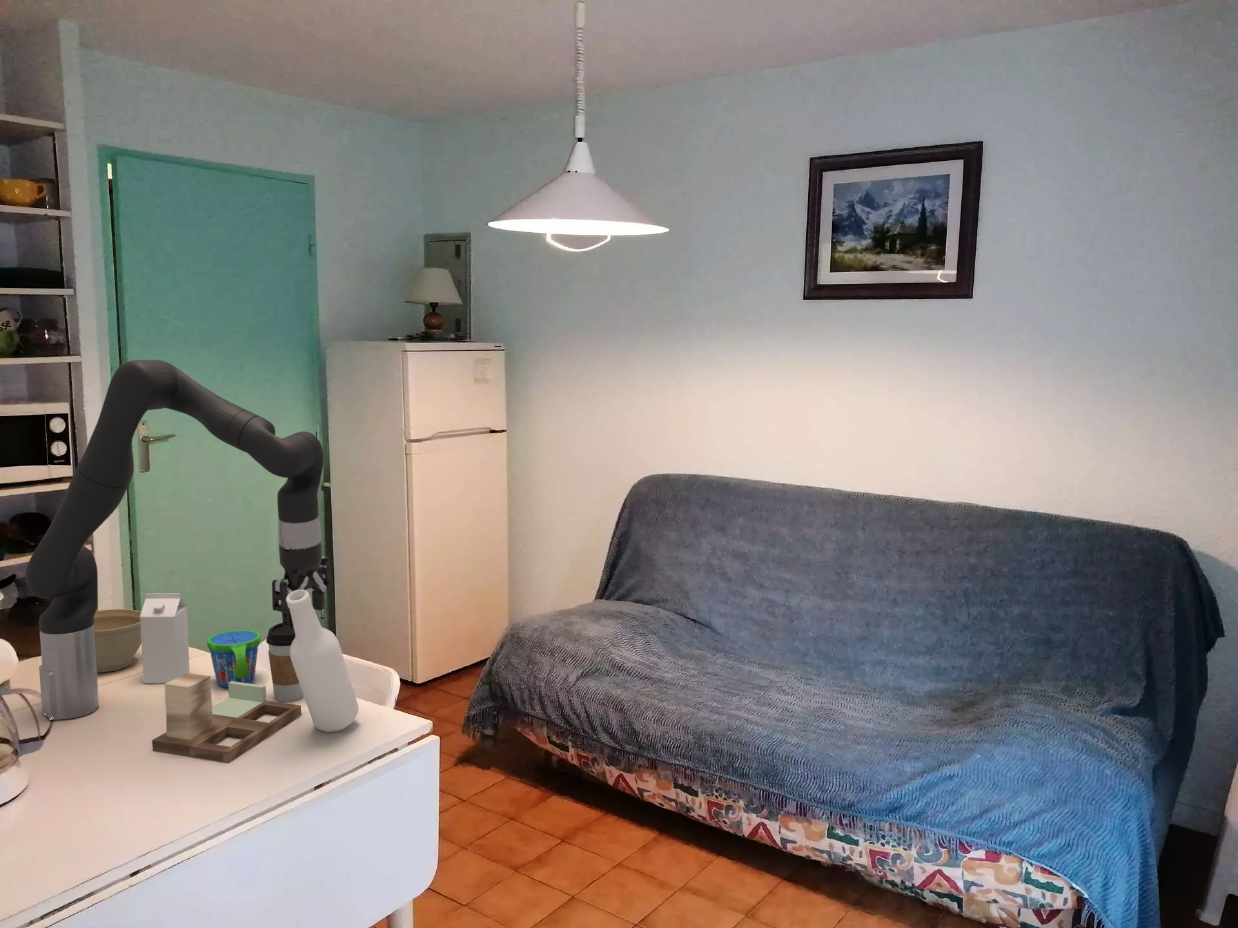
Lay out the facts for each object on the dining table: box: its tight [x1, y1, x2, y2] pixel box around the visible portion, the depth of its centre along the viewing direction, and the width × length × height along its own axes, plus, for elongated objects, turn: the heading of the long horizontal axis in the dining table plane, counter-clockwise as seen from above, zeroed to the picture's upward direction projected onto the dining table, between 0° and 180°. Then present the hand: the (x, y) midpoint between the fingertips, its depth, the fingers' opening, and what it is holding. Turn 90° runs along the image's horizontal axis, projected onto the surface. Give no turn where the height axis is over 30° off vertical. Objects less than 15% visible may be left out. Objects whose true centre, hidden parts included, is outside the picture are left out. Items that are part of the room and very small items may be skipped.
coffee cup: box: [265, 622, 304, 703], centre depth 194 cm, size 8×8×15 cm
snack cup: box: [206, 629, 261, 688], centre depth 202 cm, size 16×10×10 cm
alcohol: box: [286, 590, 359, 733], centre depth 174 cm, size 9×9×30 cm
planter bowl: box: [94, 608, 142, 674], centre depth 210 cm, size 16×16×11 cm
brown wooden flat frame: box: [151, 699, 302, 764], centre depth 178 cm, size 22×16×2 cm
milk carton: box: [140, 592, 190, 684], centre depth 203 cm, size 7×7×19 cm
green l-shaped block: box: [212, 681, 267, 718], centre depth 185 cm, size 9×8×5 cm
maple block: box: [164, 672, 213, 740], centre depth 172 cm, size 6×5×10 cm
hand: (304, 618), depth 178 cm, fingers open, 8 cm apart
